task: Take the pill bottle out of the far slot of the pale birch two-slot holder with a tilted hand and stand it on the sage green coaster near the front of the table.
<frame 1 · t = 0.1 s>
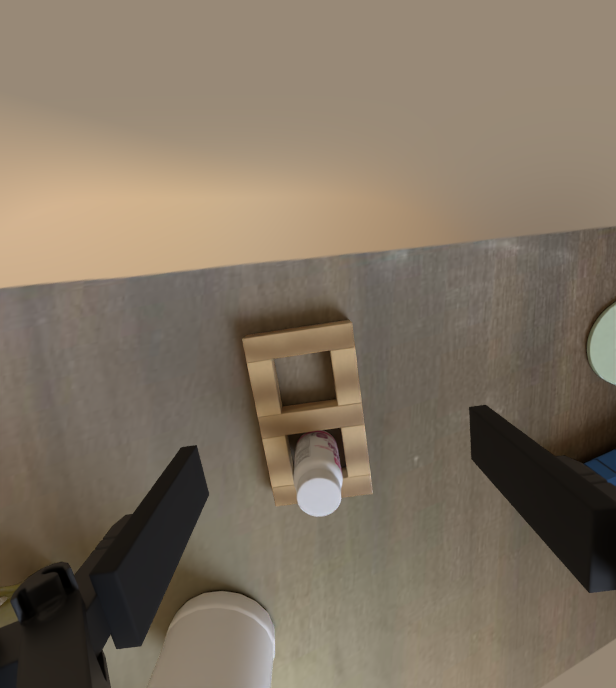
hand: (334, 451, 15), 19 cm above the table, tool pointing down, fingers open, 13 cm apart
stun gun: (612, 495, 38), on the table
mug: (48, 587, 41), on the table
holder: (311, 412, 35), on the table
pill bottle: (316, 446, 36), resting in holder
bottle: (224, 628, 42), on the table
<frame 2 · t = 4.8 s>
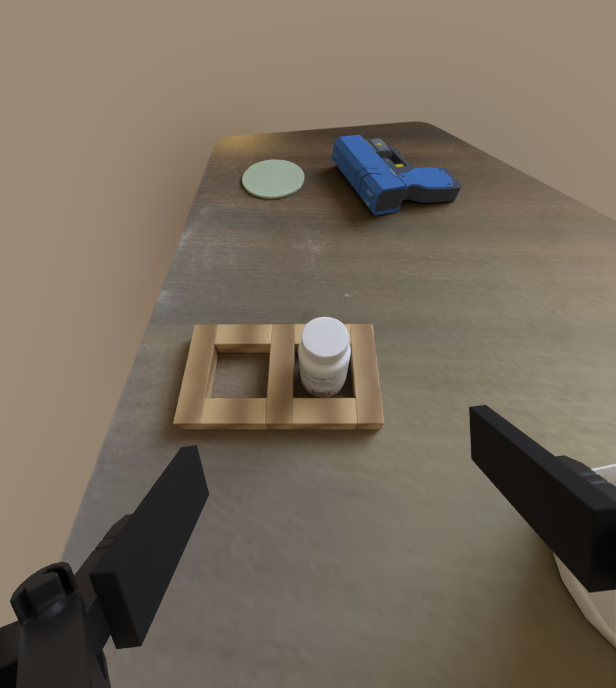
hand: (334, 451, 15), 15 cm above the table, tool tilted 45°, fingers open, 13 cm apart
stun gun: (391, 183, 51), on the table
coaster: (273, 179, 51), on the table
holder: (282, 377, 34), on the table
pill bottle: (322, 378, 34), resting in holder
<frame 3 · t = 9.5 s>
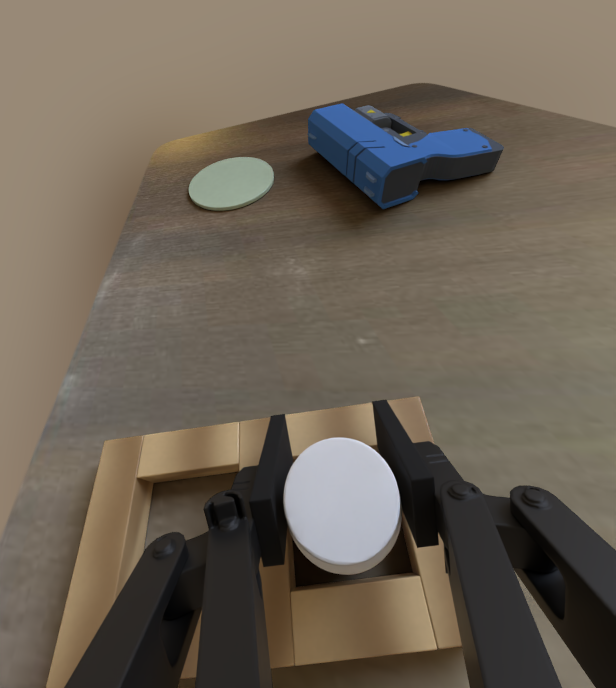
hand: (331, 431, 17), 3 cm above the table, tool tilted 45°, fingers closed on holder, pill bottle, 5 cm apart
stun gun: (396, 162, 36), on the table
coaster: (231, 183, 37), on the table
holder: (269, 523, 18), on the table
pill bottle: (343, 513, 18), resting in holder, touching gripper
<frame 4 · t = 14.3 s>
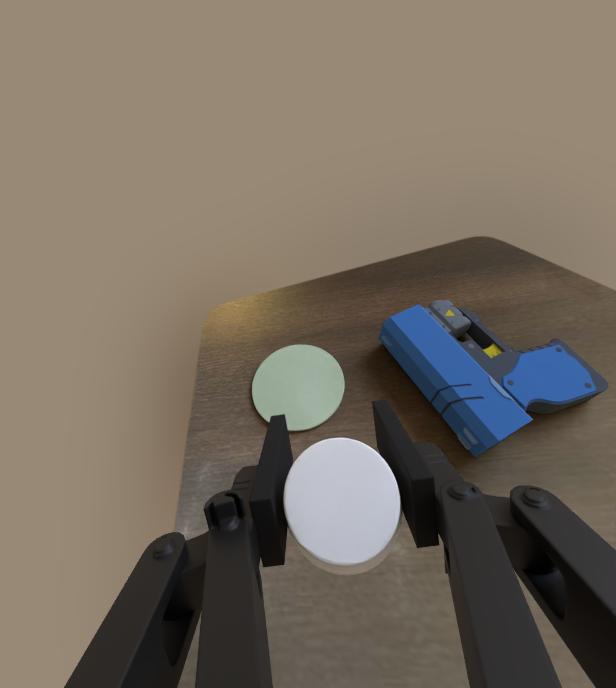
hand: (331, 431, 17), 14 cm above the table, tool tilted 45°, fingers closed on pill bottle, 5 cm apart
stun gun: (477, 367, 33), on the table
coaster: (298, 385, 34), on the table
pill bottle: (344, 514, 18), point 11 cm above the table, touching gripper
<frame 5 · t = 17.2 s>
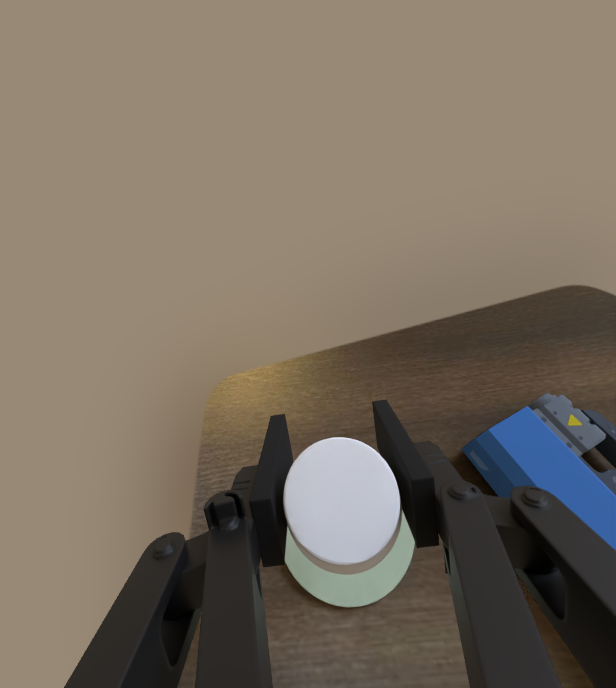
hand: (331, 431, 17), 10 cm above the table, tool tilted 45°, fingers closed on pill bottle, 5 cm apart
stun gun: (612, 501, 22), on the table
coaster: (344, 519, 23), on the table
pill bottle: (344, 513, 18), point 6 cm above the table, touching gripper
when the fingers open (4 cm above the table, at t = 19.2 s): pill bottle stays where it is, resting on coaster.
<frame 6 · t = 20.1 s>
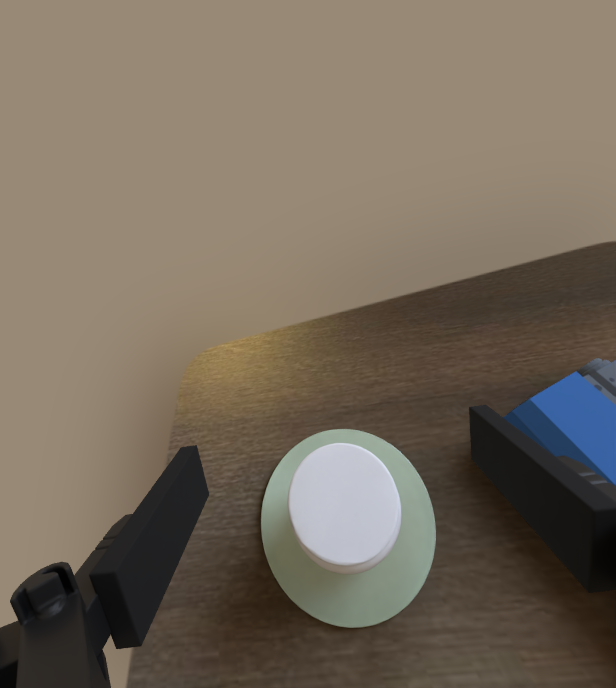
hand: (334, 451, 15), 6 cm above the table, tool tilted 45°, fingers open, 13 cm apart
coaster: (345, 514, 19), on the table
pill bottle: (345, 515, 18), resting on coaster
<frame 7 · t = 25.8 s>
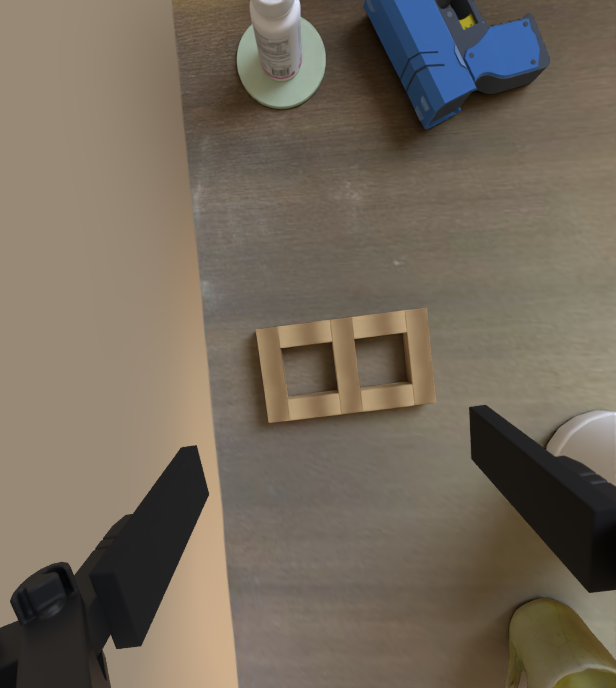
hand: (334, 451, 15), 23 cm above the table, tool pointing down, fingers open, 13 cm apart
stun gun: (449, 48, 36), on the table
mug: (526, 630, 40), on the table
coaster: (281, 62, 36), on the table
holder: (344, 364, 38), on the table
pill bottle: (281, 61, 36), resting on coaster
bottle: (595, 462, 39), on the table
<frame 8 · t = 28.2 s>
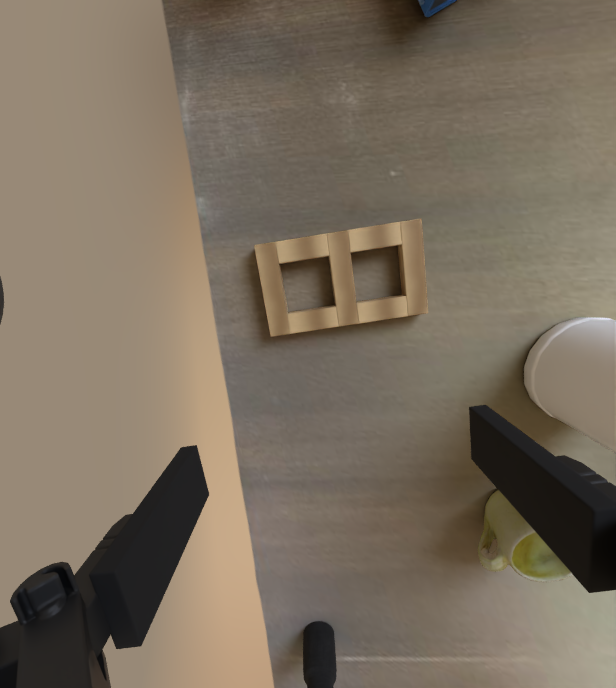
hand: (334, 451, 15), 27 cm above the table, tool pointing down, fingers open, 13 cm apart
flashlight: (318, 631, 52), on the table
mug: (499, 510, 47), on the table
holder: (341, 279, 40), on the table
bottle: (572, 367, 42), on the table
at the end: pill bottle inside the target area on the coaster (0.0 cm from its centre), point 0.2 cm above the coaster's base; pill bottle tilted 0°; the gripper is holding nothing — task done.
